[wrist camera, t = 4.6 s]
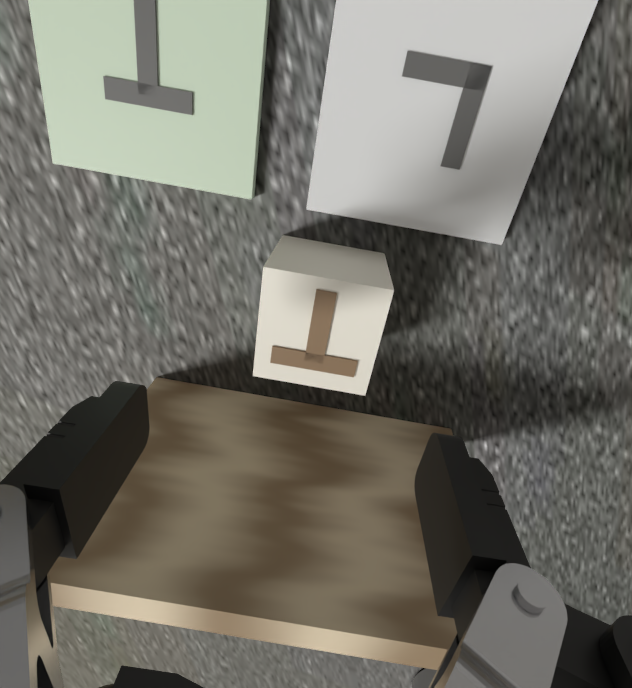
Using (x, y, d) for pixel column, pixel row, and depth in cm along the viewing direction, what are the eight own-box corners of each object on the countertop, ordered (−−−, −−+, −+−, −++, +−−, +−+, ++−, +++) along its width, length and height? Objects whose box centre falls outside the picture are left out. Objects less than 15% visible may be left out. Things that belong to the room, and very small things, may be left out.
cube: (384, 252, 19) (394, 291, 15) (362, 341, 22) (365, 397, 17) (282, 234, 19) (262, 267, 15) (272, 325, 22) (252, 377, 17)
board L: (593, -7, 14) (604, -13, 14) (497, 241, 19) (502, 245, 18) (345, -55, 14) (344, -63, 13) (307, 206, 18) (306, 209, 18)
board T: (275, -68, 14) (272, -77, 13) (254, 197, 18) (251, 199, 18) (22, -116, 14) (6, -128, 13) (61, 162, 18) (51, 163, 18)
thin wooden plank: (451, 428, 24) (528, 663, 14) (443, 446, 25) (510, 682, 14) (156, 377, 24) (5, 575, 13) (157, 397, 25) (15, 599, 14)
